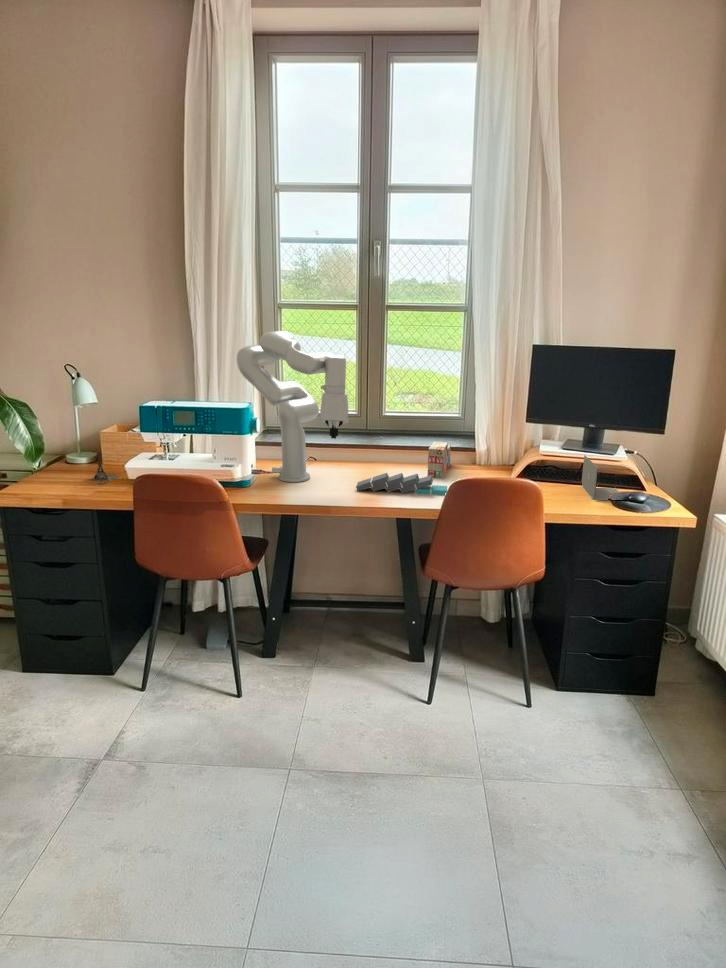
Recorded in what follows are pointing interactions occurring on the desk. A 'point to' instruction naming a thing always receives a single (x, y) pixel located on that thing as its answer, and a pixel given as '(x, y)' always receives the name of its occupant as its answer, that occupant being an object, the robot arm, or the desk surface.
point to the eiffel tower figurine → (103, 473)
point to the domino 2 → (389, 482)
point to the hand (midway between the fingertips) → (333, 437)
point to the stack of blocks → (438, 459)
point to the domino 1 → (372, 481)
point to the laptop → (594, 482)
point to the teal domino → (432, 490)
